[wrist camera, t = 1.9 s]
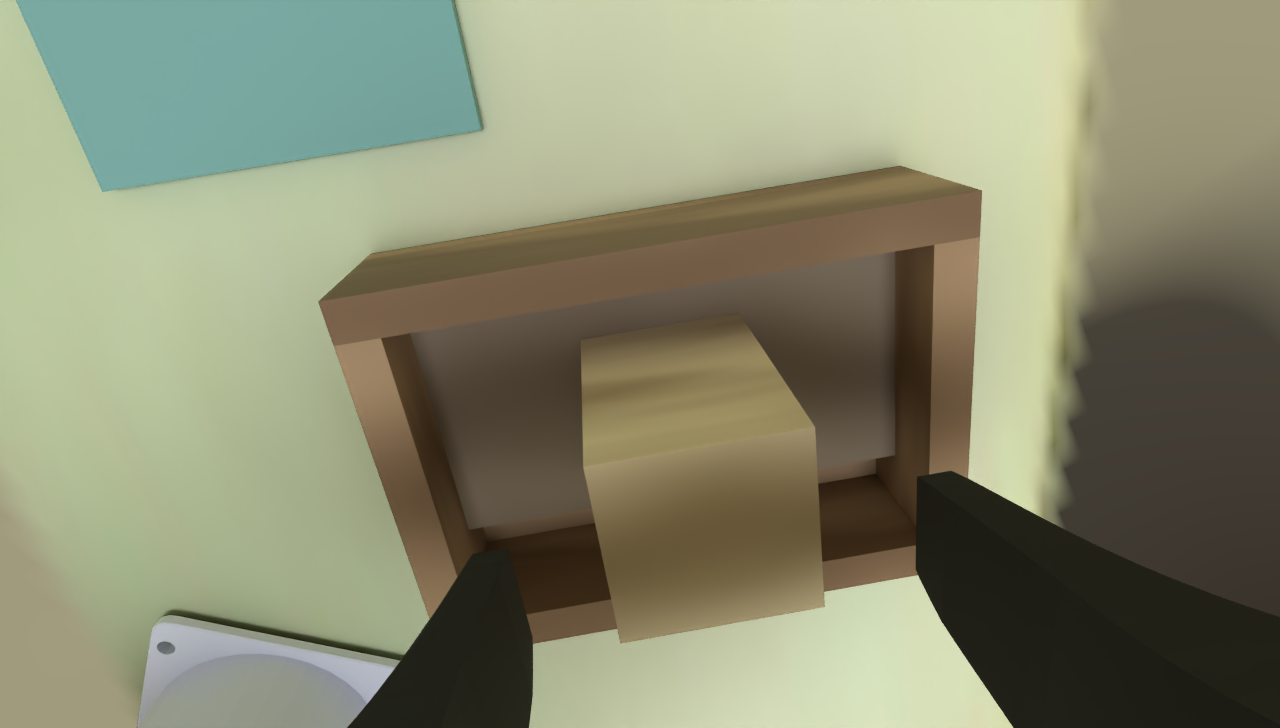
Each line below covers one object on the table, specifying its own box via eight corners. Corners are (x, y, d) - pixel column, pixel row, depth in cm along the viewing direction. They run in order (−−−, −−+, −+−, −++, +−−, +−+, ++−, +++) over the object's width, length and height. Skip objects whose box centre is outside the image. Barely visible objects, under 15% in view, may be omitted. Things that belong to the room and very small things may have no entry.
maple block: (752, 450, 19) (824, 606, 13) (607, 475, 19) (620, 643, 13) (739, 313, 17) (814, 426, 12) (580, 339, 17) (583, 466, 12)
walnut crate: (899, 484, 22) (963, 567, 19) (465, 560, 22) (443, 659, 18) (900, 165, 18) (982, 190, 15) (370, 254, 18) (318, 301, 14)
